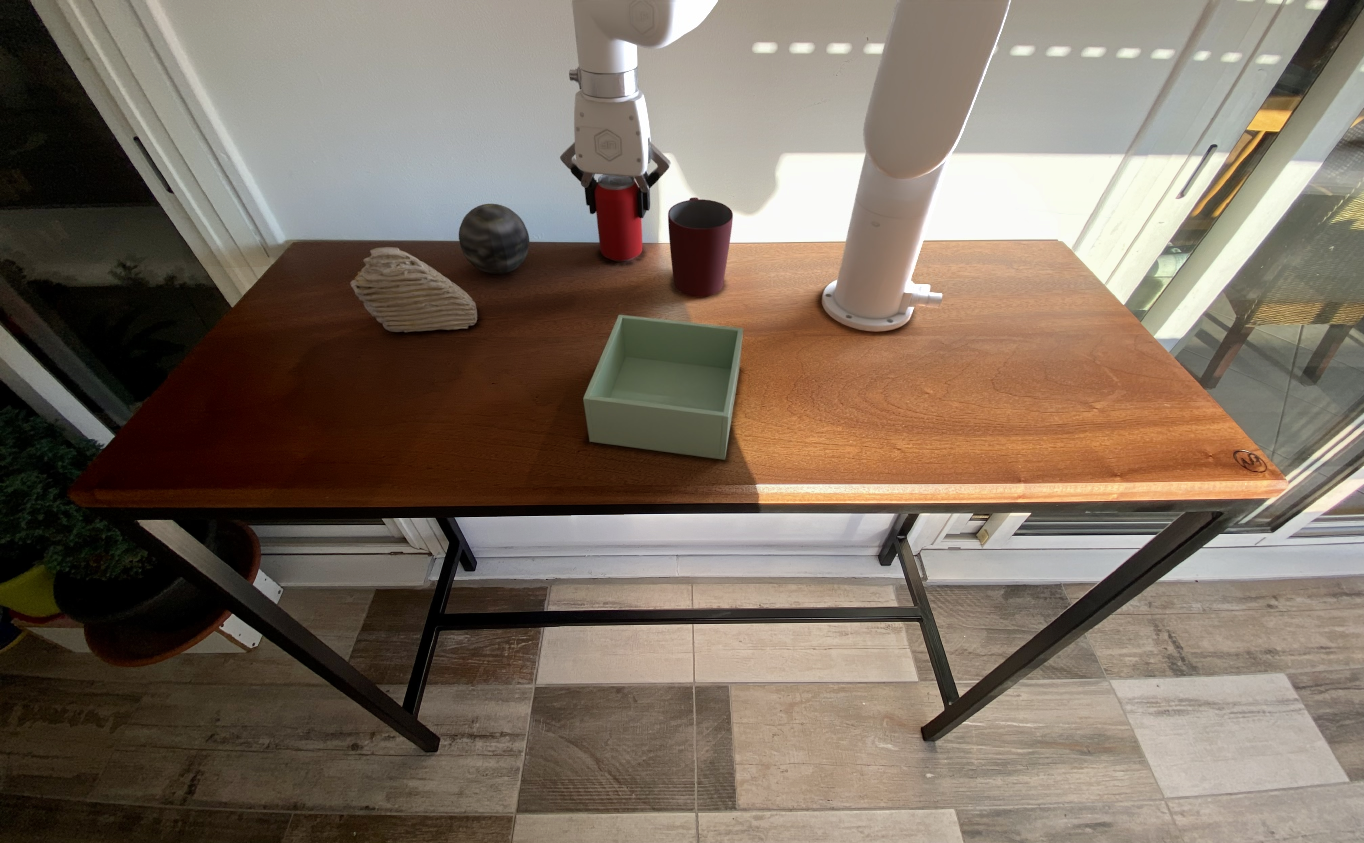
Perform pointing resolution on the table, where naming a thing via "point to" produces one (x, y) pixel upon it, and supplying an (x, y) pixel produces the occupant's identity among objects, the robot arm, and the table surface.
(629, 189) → the beverage can
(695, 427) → the sage green storage bin
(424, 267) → the fossil tooth
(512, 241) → the decorative stone
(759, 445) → the table surface
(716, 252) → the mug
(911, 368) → the table surface
